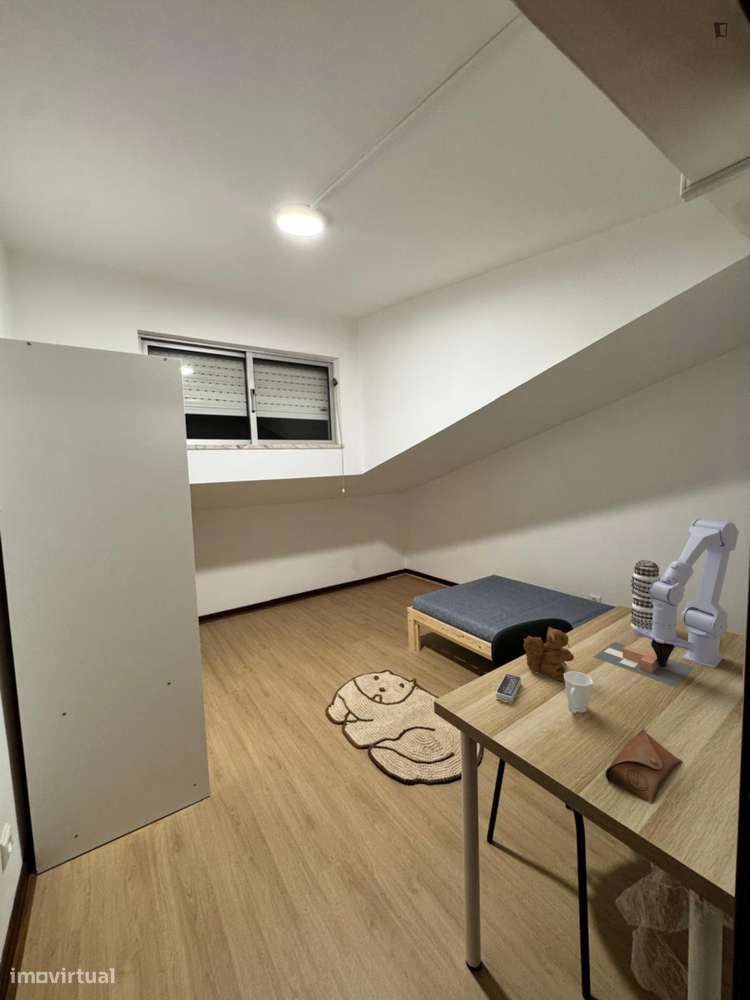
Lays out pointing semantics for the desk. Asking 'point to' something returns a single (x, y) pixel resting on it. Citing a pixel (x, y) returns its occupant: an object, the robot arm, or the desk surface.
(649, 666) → the t block
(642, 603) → the white patterned cylinder
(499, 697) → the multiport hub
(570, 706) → the cup
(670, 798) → the desk surface
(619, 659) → the mat
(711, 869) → the desk surface
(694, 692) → the desk surface
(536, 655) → the stuffed squirrel
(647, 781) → the sunglasses case
